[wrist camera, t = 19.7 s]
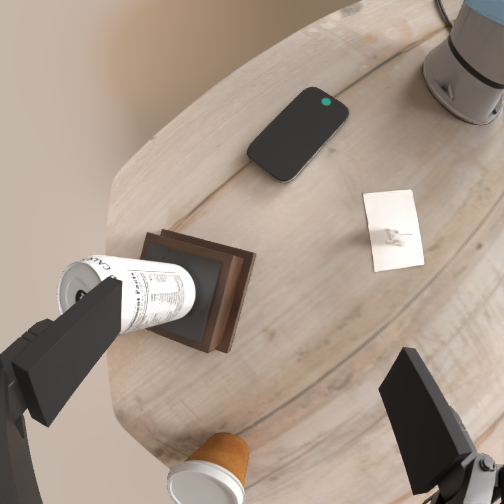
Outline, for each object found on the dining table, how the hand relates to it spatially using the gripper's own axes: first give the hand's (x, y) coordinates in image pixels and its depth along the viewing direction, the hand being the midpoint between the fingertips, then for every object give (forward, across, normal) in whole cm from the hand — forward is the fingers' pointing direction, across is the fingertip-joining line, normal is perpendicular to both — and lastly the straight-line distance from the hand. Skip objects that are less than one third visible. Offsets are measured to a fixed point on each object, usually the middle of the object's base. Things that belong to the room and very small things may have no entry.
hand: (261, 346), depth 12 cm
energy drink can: (+18, -8, -8) cm, 21 cm away
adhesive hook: (+25, +16, +4) cm, 30 cm away
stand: (+24, -7, -11) cm, 28 cm away
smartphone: (+31, +1, +12) cm, 33 cm away
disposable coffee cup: (+15, +2, -31) cm, 34 cm away
